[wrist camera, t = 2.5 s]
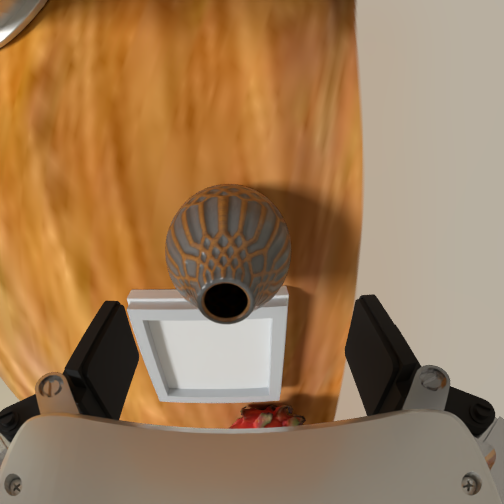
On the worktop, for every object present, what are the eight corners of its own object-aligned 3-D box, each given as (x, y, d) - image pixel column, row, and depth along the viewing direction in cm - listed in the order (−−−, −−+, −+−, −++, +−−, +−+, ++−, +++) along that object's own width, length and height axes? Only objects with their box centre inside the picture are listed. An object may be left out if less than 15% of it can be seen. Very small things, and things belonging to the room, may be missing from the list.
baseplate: (131, 289, 22) (123, 306, 20) (286, 285, 22) (290, 303, 20) (161, 385, 27) (158, 402, 25) (279, 384, 27) (281, 401, 25)
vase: (188, 273, 21) (166, 363, 13) (170, 180, 18) (123, 233, 10) (282, 264, 21) (307, 352, 13) (278, 169, 18) (311, 214, 10)
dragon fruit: (303, 377, 29) (240, 413, 35) (249, 399, 23) (189, 431, 29) (340, 439, 25) (269, 465, 31) (294, 478, 19) (221, 491, 24)
